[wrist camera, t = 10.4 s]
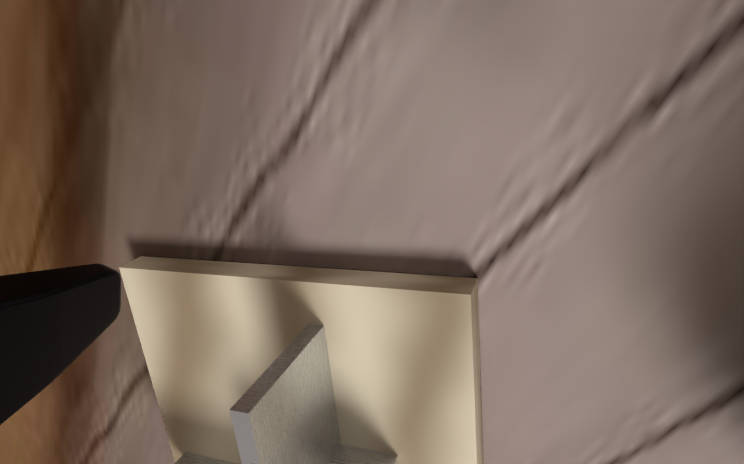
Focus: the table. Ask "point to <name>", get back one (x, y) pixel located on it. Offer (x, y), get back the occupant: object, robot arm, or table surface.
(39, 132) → the table surface
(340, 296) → the beige panel with ridges
